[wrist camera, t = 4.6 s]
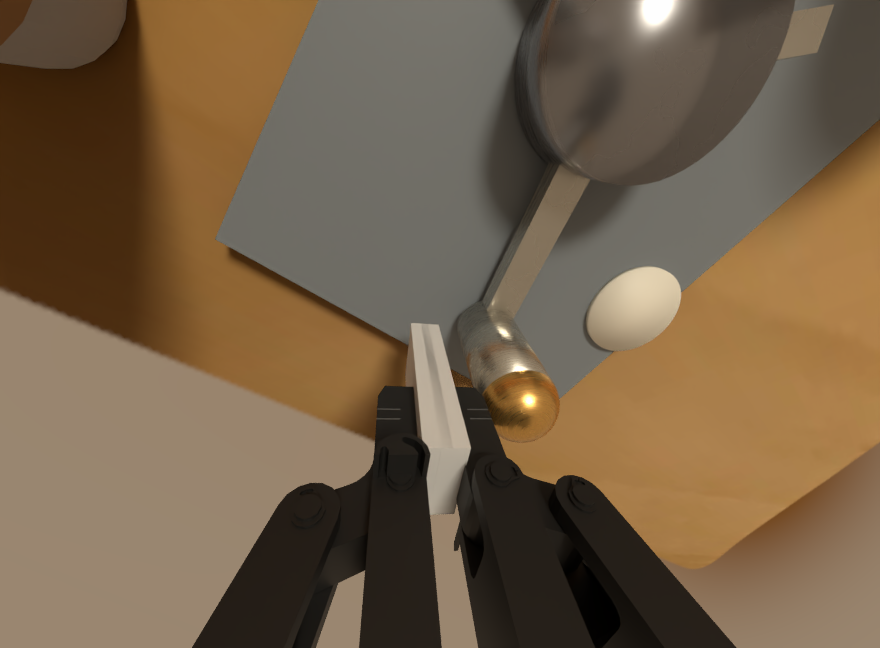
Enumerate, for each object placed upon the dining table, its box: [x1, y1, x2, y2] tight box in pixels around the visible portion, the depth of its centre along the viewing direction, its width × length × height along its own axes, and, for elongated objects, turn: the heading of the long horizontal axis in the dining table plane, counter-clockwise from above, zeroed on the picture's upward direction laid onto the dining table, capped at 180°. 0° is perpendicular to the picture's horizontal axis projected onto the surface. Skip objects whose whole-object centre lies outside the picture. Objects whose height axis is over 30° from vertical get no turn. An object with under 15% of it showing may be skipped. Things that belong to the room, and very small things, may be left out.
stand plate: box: [215, 0, 880, 399], centre depth 13 cm, size 21×24×2 cm
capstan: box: [457, 0, 834, 443], centre depth 10 cm, size 16×12×7 cm
